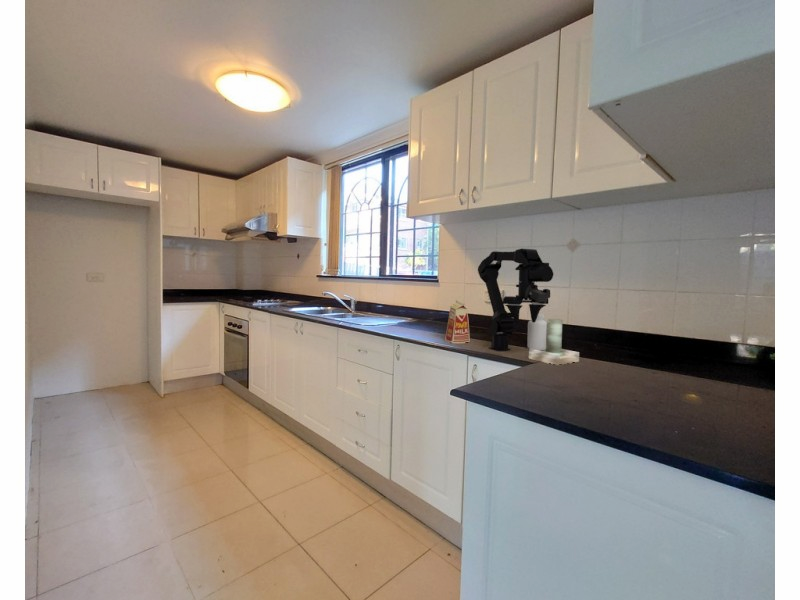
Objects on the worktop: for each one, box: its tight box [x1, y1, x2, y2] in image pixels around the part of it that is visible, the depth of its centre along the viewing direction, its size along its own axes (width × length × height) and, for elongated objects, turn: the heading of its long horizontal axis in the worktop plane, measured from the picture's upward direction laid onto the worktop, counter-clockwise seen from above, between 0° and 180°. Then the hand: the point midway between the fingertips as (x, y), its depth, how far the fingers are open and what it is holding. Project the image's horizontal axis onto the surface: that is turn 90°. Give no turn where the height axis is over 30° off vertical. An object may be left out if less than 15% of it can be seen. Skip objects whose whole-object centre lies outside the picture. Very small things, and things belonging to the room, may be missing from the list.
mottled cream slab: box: [528, 348, 580, 366], centre depth 125 cm, size 12×12×4 cm
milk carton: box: [444, 299, 470, 344], centre depth 161 cm, size 9×9×20 cm
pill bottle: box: [526, 313, 547, 351], centre depth 147 cm, size 8×8×15 cm
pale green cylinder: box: [542, 318, 564, 357], centre depth 125 cm, size 7×7×13 cm
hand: (525, 322), depth 130 cm, fingers open, 9 cm apart
